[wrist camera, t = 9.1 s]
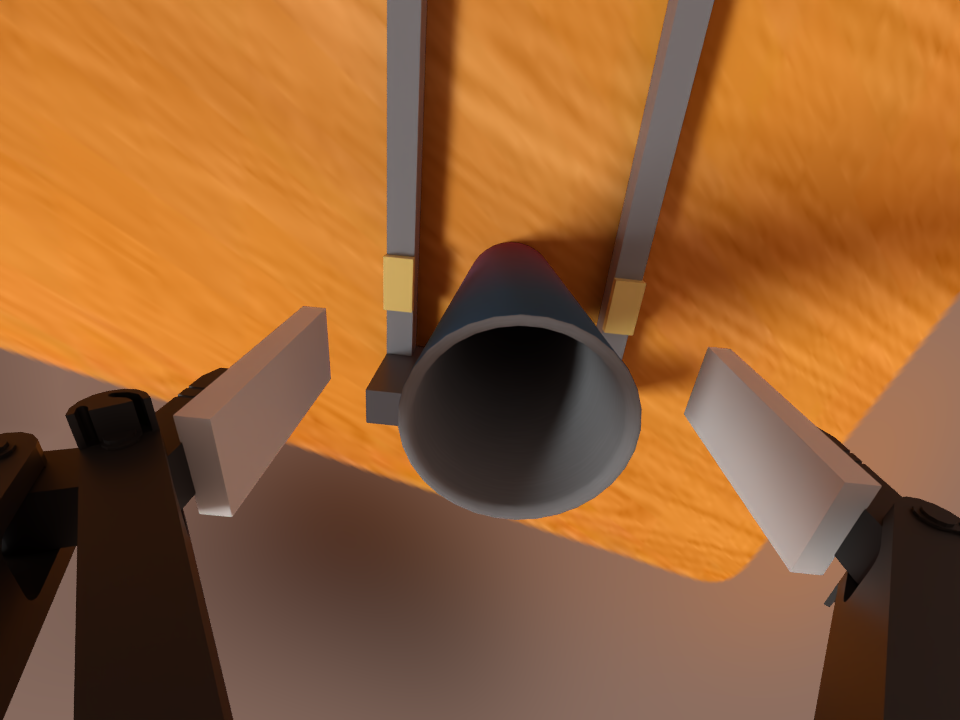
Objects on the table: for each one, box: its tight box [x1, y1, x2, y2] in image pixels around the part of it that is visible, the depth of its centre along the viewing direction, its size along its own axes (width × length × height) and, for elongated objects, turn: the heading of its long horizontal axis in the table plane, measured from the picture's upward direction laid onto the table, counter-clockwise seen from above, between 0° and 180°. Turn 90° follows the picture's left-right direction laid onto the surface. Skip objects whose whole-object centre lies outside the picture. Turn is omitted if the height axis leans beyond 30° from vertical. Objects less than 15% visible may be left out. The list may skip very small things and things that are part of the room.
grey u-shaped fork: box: [366, 0, 714, 426], centre depth 20 cm, size 23×14×8 cm, turn 175°
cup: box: [398, 242, 642, 520], centre depth 19 cm, size 7×7×15 cm
